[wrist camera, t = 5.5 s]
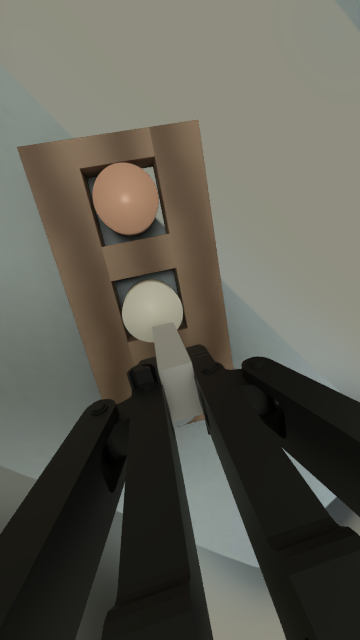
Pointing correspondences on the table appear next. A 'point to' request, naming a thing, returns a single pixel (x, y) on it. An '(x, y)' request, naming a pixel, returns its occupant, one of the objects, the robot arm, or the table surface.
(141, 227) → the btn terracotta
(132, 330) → the cream button
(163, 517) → the robot arm
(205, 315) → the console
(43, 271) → the table surface
